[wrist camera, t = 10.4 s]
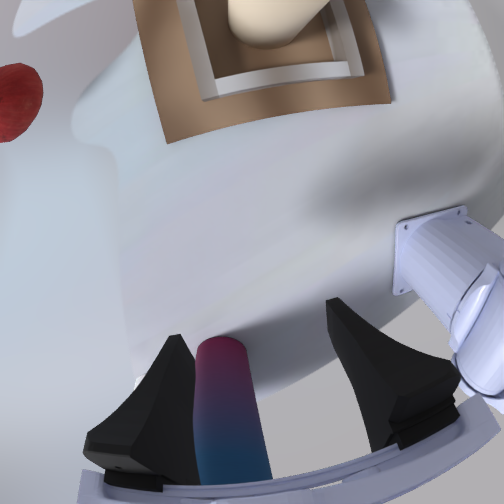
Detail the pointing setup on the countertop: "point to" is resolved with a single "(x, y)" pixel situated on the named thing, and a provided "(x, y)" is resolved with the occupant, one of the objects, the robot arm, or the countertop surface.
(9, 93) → the red round fruit
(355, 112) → the countertop surface
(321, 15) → the holder
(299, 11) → the roll
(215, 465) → the cup
